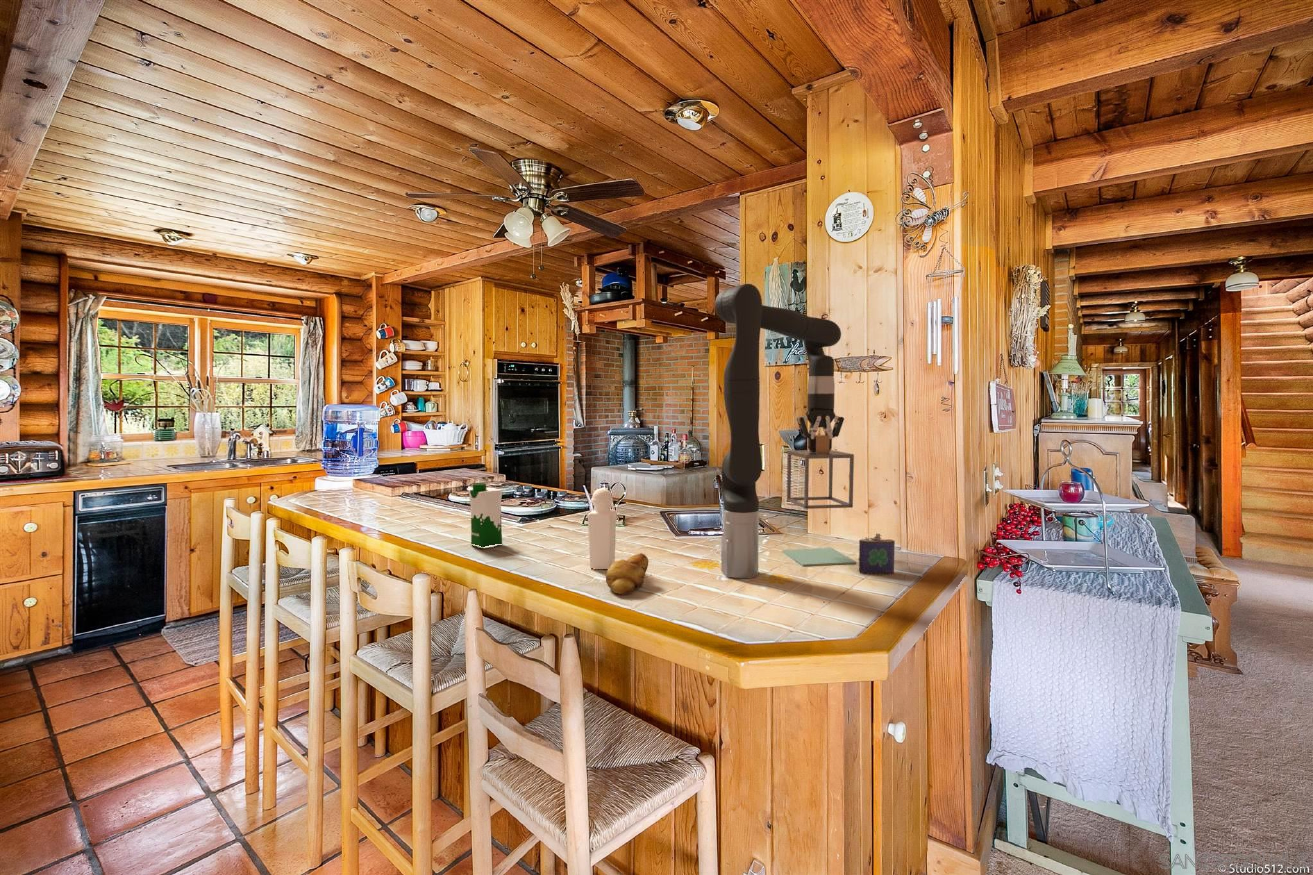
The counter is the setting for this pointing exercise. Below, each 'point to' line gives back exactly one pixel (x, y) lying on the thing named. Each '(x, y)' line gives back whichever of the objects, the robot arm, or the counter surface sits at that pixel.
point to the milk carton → (485, 515)
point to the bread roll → (627, 574)
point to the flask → (876, 555)
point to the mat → (818, 557)
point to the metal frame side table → (823, 452)
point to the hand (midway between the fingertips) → (819, 451)
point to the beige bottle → (602, 530)
